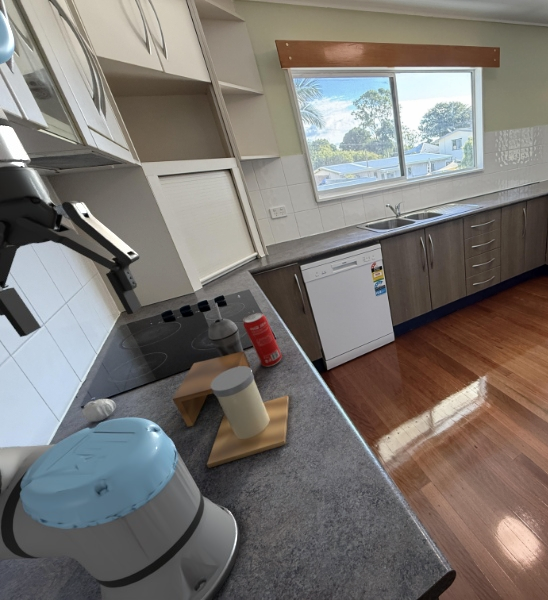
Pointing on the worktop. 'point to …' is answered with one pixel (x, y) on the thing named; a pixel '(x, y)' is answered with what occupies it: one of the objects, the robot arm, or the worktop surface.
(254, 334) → the beverage can
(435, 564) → the worktop surface
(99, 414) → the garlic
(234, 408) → the jar
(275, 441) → the board
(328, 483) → the worktop surface
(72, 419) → the worktop surface
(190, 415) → the shelf
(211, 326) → the grey bottle
